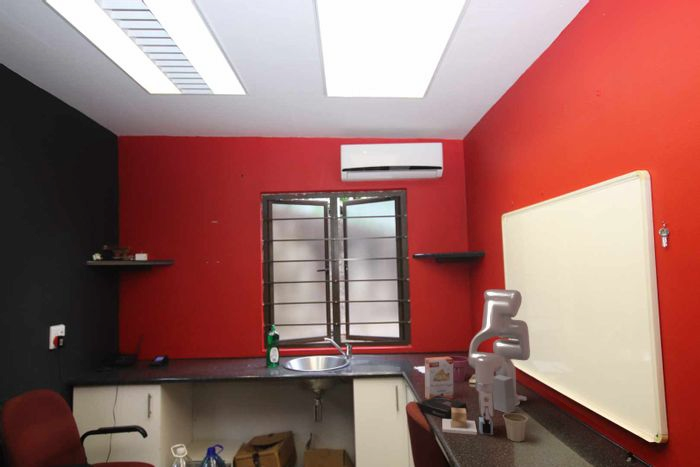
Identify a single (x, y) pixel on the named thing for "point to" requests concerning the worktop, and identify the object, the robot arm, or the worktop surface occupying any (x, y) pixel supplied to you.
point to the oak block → (459, 417)
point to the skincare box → (503, 394)
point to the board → (469, 430)
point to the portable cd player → (440, 406)
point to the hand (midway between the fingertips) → (485, 430)
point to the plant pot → (459, 367)
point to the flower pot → (515, 426)
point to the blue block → (482, 427)
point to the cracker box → (439, 377)
